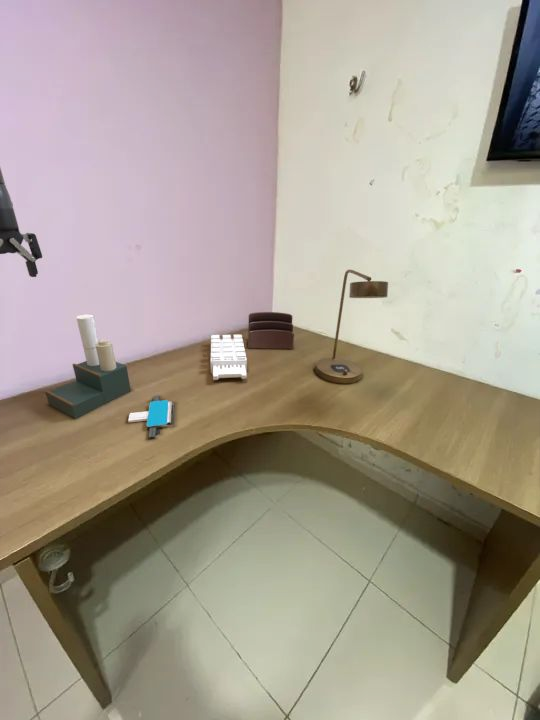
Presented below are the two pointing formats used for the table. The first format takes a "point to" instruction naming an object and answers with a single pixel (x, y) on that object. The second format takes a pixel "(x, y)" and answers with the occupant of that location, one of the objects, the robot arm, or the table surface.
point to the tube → (88, 338)
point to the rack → (89, 389)
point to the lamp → (334, 366)
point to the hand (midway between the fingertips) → (14, 279)
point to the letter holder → (270, 330)
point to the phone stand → (156, 416)
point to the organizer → (228, 357)
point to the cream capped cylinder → (105, 355)
